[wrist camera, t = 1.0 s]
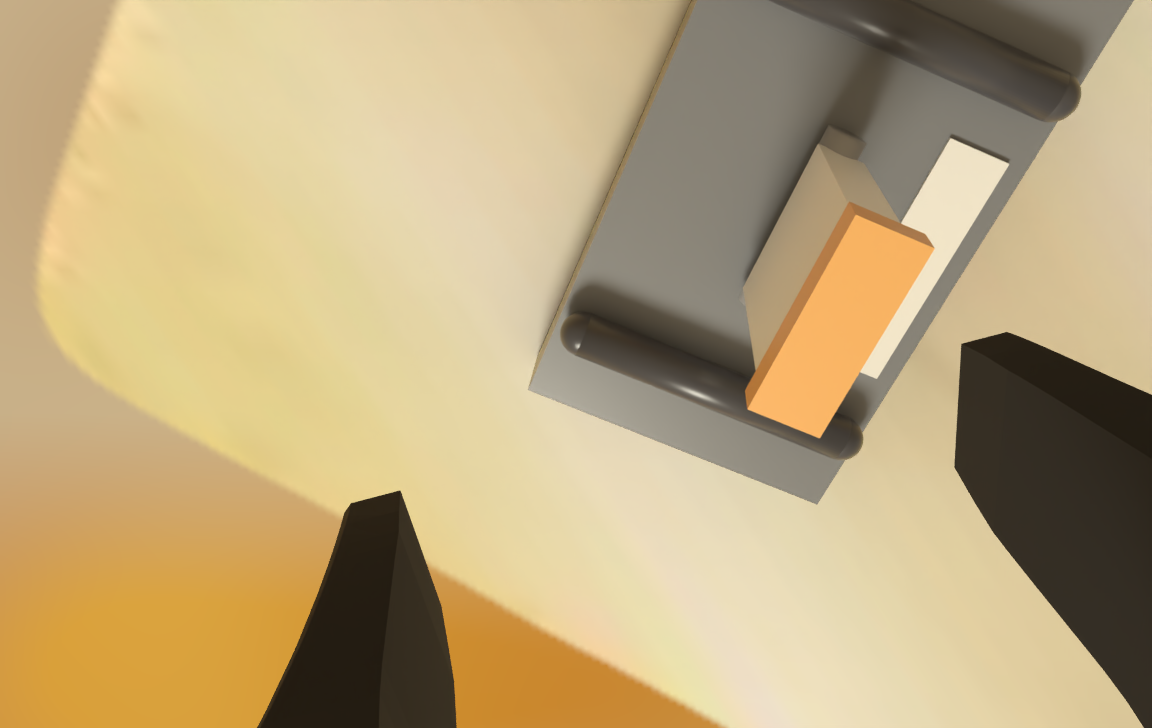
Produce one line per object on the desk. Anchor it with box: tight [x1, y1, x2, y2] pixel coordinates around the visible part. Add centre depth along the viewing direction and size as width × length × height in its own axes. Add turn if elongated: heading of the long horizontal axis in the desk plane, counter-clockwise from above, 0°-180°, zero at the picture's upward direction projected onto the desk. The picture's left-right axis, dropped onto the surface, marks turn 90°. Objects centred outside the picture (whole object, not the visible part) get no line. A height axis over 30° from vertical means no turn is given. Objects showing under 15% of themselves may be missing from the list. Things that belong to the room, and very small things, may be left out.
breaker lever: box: [739, 125, 935, 438], centre depth 23 cm, size 2×5×7 cm, turn 158°
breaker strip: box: [528, 0, 1134, 504], centre depth 26 cm, size 9×15×3 cm, turn 158°
